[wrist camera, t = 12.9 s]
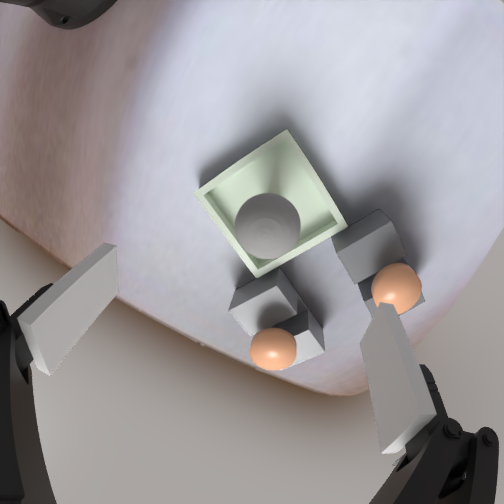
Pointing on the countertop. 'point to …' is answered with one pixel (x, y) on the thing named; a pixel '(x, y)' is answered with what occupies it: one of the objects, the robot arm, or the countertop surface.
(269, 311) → the socket housing
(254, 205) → the light bulb
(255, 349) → the plunger
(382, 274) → the orange mushroom knob
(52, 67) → the countertop surface
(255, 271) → the tray
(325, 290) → the countertop surface
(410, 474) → the robot arm
